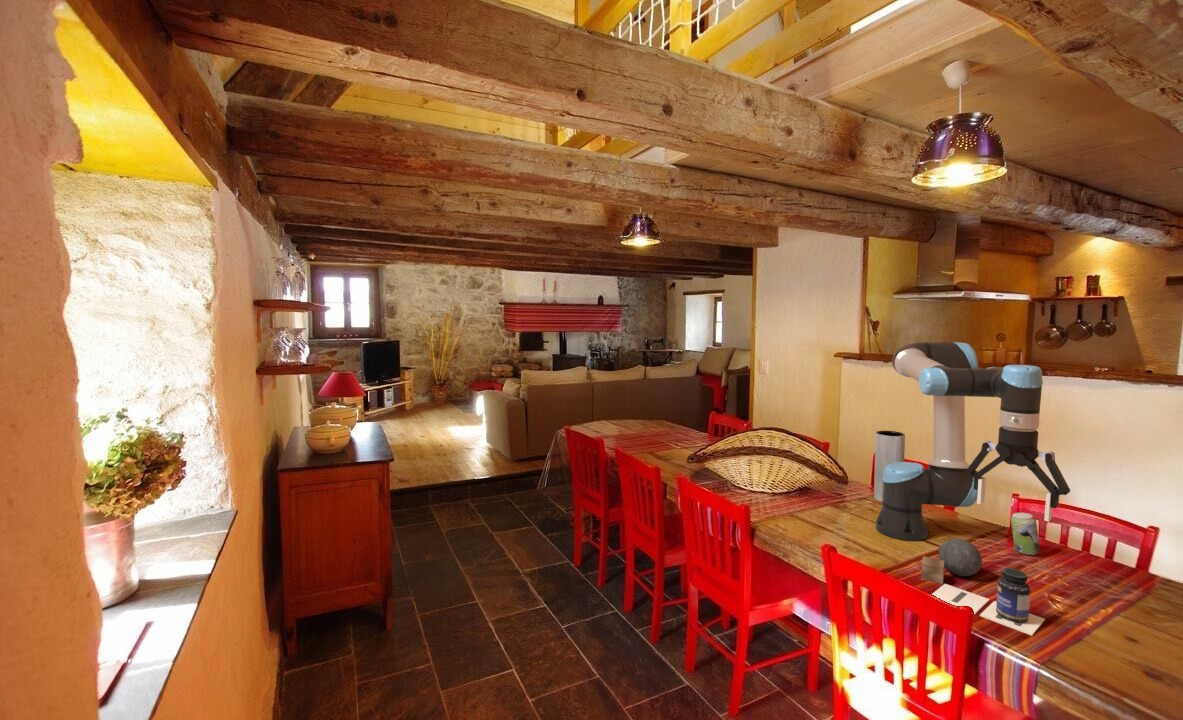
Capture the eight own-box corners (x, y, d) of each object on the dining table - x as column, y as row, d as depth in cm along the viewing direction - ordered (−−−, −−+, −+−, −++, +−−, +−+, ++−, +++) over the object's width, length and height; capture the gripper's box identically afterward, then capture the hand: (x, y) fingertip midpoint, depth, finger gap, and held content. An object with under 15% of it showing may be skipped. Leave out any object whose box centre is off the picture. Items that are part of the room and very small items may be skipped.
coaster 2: (979, 616, 126) (980, 614, 126) (994, 602, 132) (994, 600, 132) (1032, 635, 118) (1032, 633, 118) (1044, 620, 124) (1044, 618, 124)
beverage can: (1044, 558, 156) (1046, 519, 155) (1016, 556, 157) (1018, 517, 156) (1031, 548, 162) (1033, 511, 161) (1004, 547, 163) (1006, 510, 163)
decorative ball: (946, 580, 144) (947, 545, 143) (932, 564, 153) (933, 531, 152) (988, 585, 141) (989, 549, 140) (971, 567, 150) (973, 534, 150)
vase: (902, 505, 200) (904, 437, 198) (872, 501, 205) (874, 434, 203) (903, 498, 208) (905, 432, 206) (875, 493, 214) (876, 429, 212)
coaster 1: (929, 597, 135) (929, 595, 135) (945, 585, 141) (945, 583, 141) (975, 614, 127) (975, 612, 127) (989, 600, 133) (989, 598, 133)
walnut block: (921, 580, 144) (921, 562, 144) (922, 573, 148) (923, 556, 148) (942, 585, 141) (943, 567, 141) (943, 578, 145) (944, 560, 145)
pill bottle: (989, 609, 128) (991, 566, 127) (1012, 608, 129) (1014, 565, 128) (1011, 624, 122) (1014, 579, 121) (1035, 622, 122) (1038, 578, 122)
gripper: (954, 421, 135) (949, 499, 138) (1082, 440, 115) (1075, 531, 117) (965, 417, 140) (961, 493, 142) (1091, 435, 120) (1084, 523, 122)
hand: (1012, 511), depth 130 cm, fingers open, 13 cm apart
